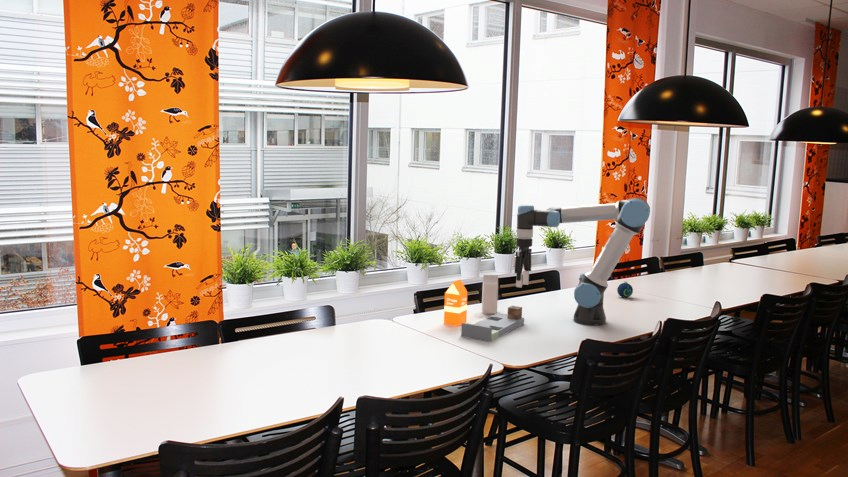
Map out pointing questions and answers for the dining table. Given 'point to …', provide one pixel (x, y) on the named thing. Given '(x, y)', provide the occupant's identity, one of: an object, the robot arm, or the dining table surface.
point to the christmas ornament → (625, 290)
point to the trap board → (490, 327)
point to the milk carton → (489, 294)
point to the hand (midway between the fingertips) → (522, 285)
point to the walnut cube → (514, 312)
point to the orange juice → (455, 304)
